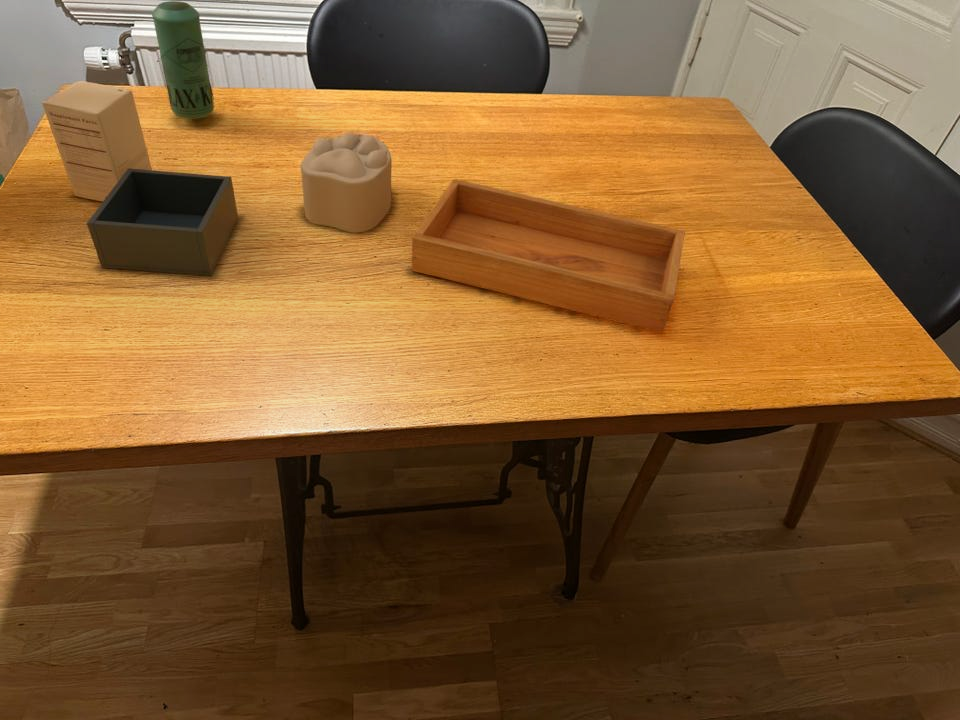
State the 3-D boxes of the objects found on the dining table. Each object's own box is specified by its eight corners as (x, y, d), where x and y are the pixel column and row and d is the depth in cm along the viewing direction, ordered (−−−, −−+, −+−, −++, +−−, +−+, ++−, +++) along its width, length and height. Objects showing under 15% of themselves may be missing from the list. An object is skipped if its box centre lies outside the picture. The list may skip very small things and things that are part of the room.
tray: (410, 273, 85) (412, 233, 81) (451, 212, 96) (453, 175, 92) (660, 338, 80) (674, 300, 76) (672, 267, 91) (685, 230, 87)
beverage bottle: (163, 119, 108) (131, -24, 94) (199, 106, 112) (173, -32, 98) (191, 133, 105) (163, -11, 92) (227, 119, 109) (204, -20, 96)
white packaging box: (106, 170, 95) (78, 78, 87) (156, 180, 95) (134, 88, 86) (72, 197, 90) (39, 101, 81) (125, 207, 89) (97, 112, 81)
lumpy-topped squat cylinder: (295, 219, 91) (289, 158, 85) (335, 174, 100) (332, 116, 94) (370, 236, 90) (369, 176, 84) (404, 189, 99) (405, 131, 93)
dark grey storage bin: (101, 267, 80) (86, 223, 76) (139, 210, 89) (128, 168, 85) (211, 275, 81) (202, 232, 77) (238, 218, 90) (231, 176, 86)
